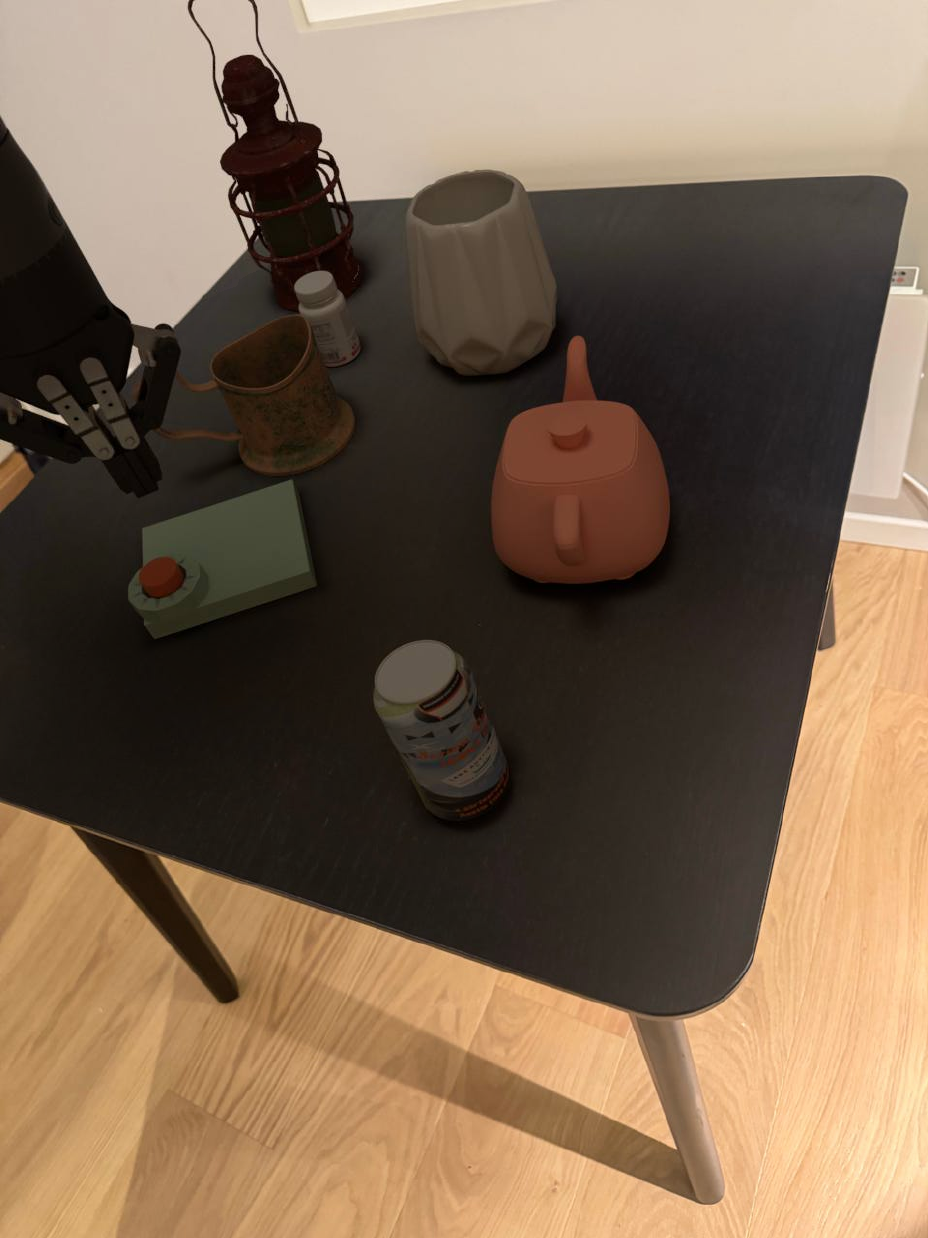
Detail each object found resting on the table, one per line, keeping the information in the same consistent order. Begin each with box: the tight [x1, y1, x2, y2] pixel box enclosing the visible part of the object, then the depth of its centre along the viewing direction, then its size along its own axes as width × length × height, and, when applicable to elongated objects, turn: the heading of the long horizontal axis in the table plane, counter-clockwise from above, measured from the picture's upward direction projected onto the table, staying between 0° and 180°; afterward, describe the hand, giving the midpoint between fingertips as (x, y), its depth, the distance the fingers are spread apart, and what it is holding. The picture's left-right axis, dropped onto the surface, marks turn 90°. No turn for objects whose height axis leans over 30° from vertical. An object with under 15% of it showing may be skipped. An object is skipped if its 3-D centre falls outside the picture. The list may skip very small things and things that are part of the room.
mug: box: [131, 313, 356, 477], centre depth 85 cm, size 12×18×12 cm, turn 117°
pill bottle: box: [294, 271, 361, 368], centre depth 94 cm, size 5×5×8 cm
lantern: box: [187, 0, 364, 312], centre depth 96 cm, size 12×12×30 cm
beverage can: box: [372, 639, 511, 822], centre depth 57 cm, size 6×7×12 cm
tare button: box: [139, 557, 184, 599], centre depth 75 cm, size 3×3×2 cm
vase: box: [404, 169, 558, 377], centre depth 87 cm, size 14×14×15 cm
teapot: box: [490, 335, 671, 585], centre depth 69 cm, size 13×20×12 cm, turn 173°
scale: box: [127, 479, 318, 640], centre depth 79 cm, size 14×13×4 cm
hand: (146, 487), depth 61 cm, fingers closed
